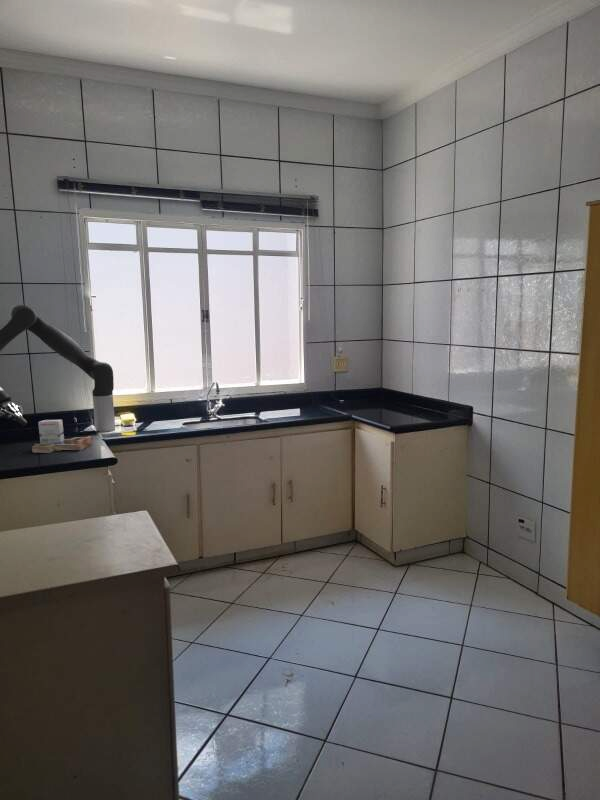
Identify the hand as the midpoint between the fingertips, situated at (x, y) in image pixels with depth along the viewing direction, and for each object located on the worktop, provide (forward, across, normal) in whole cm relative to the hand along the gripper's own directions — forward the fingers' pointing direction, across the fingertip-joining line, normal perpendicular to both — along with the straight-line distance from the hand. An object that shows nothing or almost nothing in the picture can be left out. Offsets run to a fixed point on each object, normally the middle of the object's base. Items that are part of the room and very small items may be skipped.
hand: (25, 424), depth 243 cm
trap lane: (+19, 0, -5) cm, 19 cm away
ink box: (+16, 0, -1) cm, 16 cm away
